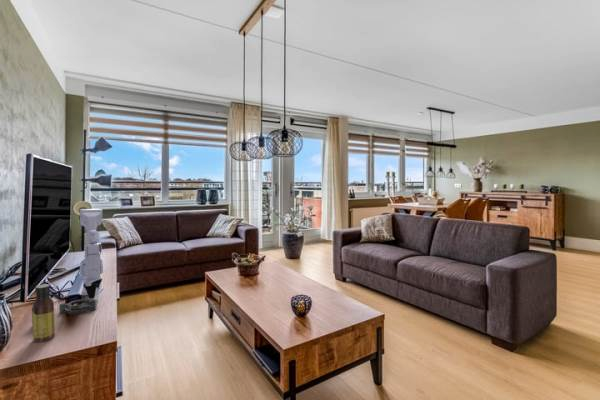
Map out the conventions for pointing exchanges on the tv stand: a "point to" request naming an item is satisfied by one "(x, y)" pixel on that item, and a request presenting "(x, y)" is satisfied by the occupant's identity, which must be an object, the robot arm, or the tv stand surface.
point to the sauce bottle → (43, 314)
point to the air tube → (95, 296)
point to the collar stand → (78, 307)
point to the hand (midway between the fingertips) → (93, 296)
